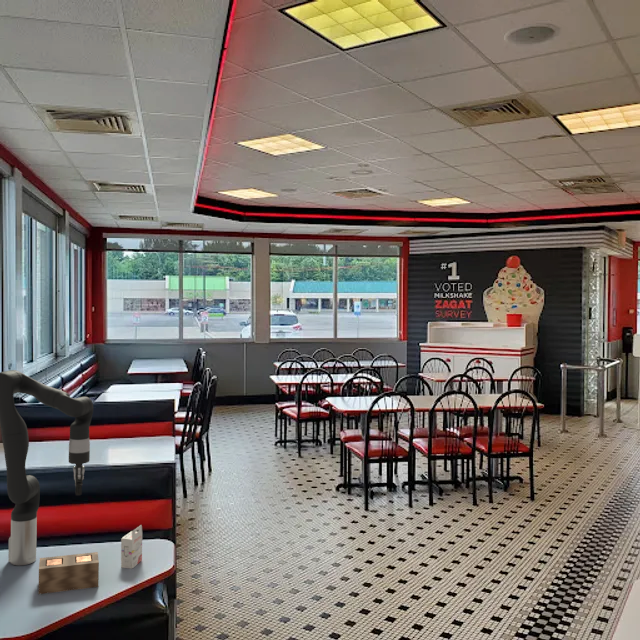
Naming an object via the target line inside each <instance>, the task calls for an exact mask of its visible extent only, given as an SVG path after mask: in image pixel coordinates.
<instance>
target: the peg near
mask: <svg viewBox="0 0 640 640" xmlns="http://www.w3.org/2000/svg"><path fill="white" fill-rule="evenodd" d="M59 564H62V559H54V560H47V566H50V565H59Z"/></svg>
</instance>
